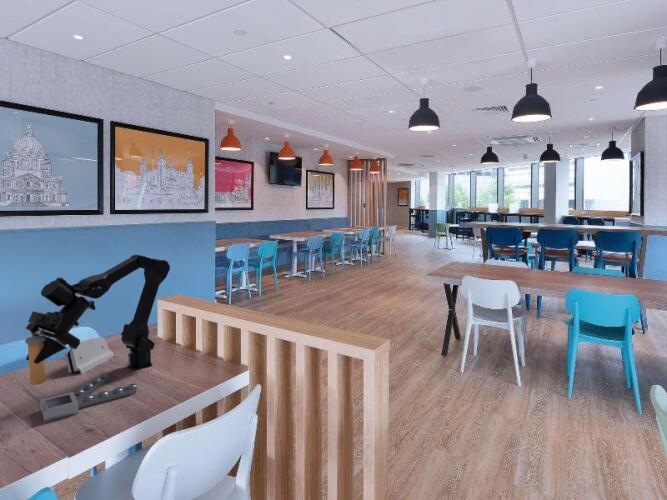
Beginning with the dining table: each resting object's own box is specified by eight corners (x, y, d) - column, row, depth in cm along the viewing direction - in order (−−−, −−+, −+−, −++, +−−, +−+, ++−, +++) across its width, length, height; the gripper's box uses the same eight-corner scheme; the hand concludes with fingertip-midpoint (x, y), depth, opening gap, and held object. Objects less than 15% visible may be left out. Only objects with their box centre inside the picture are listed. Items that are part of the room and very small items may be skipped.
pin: (42, 377, 121) (39, 334, 119) (51, 380, 119) (48, 337, 117) (24, 383, 117) (21, 339, 115) (33, 386, 114) (30, 342, 113)
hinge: (81, 374, 139) (71, 346, 138) (69, 377, 140) (59, 350, 139) (115, 356, 155) (106, 331, 154) (105, 359, 156) (96, 334, 155)
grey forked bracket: (123, 374, 140) (123, 365, 140) (140, 395, 125) (140, 386, 125) (36, 394, 124) (35, 385, 124) (44, 422, 110) (43, 411, 109)
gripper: (30, 295, 122) (-11, 341, 114) (67, 304, 114) (24, 355, 105) (60, 314, 130) (23, 359, 122) (96, 324, 122) (58, 373, 113)
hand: (31, 361), depth 116 cm, fingers closed on pin, 4 cm apart
